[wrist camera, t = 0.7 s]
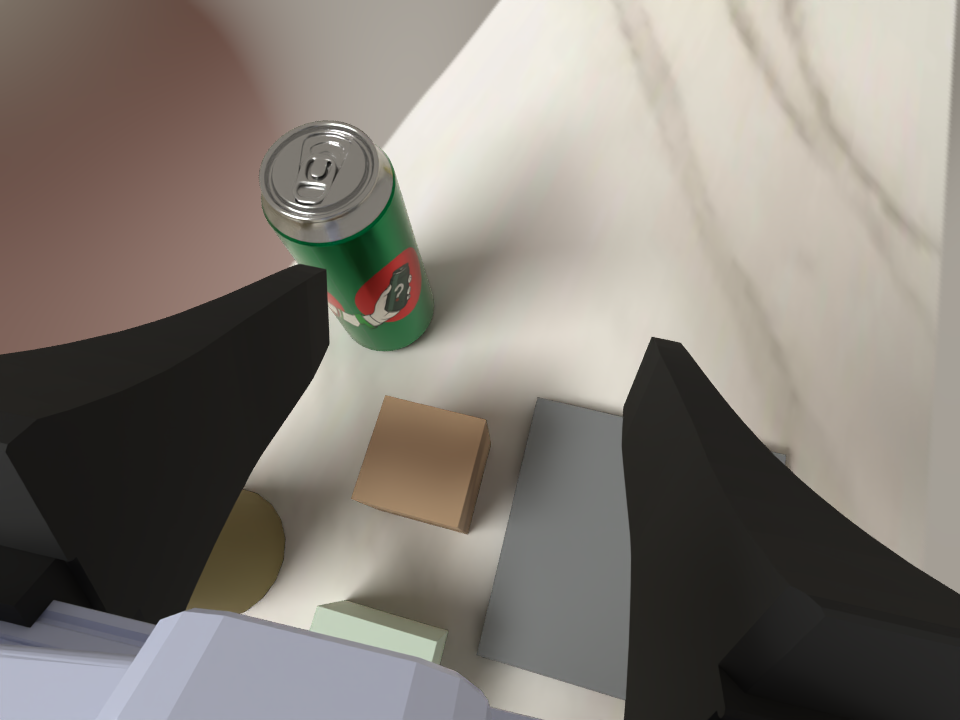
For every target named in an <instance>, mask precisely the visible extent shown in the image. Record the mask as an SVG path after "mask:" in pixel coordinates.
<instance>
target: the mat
mask: <svg viewBox="0 0 960 720" xmlns="http://www.w3.org/2000/svg"><path fill="white" fill-rule="evenodd" d="M622 423H623V417H621V416H616V415H612V414H608V413H604V412H599V411H595V410H591V409H586V408H582V407H578V406H573V405H569V404H565V403H561V402H556V401H552V400H548V399H543V398H539V397H537V402H536V406H535V410H534V414H533V419H532V423H531V427H530V431H529V436H528V440H527V444H526V448H525V453H524V457H523V461H522V465H521V469H520V474H519V478H518V482H517V486H516V491H515V495H514V499H513V503H512V508H511V512H510V516H509V520H508V524H507V529H506V533H505V537H504V541H503V546H502V550H501V554H500V558H499V563H498V567H497V571H496V575H495V579H494V584H493V588H492V592H491V596H490V601H489V605H488V609H487V613H486V618H485V622H484V626H483V630H482V634H481V639H480V643H479V647H478V651H477V655H478V656H481V657H485V658H488V659H491V660H494V661H498V662H501V663H504V664H508V665H511V666H514V667H517V668H521V669H524V670H527V671H530V672H534V673H537V674H540V675H544V676H547V677H550V678H553V679H557V680H560V681H563V682H566V683H570V684H573V685H576V686H580V687H583V688H586V689H589V690H593V691H596V692H599V693H602V694H606V695H609V696H612V697H616V698H619V699H622V700H625V701H626V684H627V666H628V648H629V621H630V586H631V546H630V530H629V520H628V510H627V500H626V490H625V480H624V469H623V458H622ZM772 453H773V454H774V455H775V456H776V457H777V458H778V459H779V460H780V461H781V462H782V463H783V464H784V465H785V462H786V455H784V454H780V453H775V452H772Z"/></svg>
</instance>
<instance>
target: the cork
mask: <svg viewBox="0 0 960 720" xmlns="http://www.w3.org/2000/svg"><path fill="white" fill-rule="evenodd" d="M284 548H285V536H284V531H283V527H282V522H281V519H280V518H279V516H278V514H277V513H276V511H275V509H274V508H273V506H272V505H271V504H270V503H269V502H268V501H266V500H265V499H264V498H263V497H261V496H260V495H259V494H257V493H254V492H251V491H247V490H244V489H242V491H241V493H240V495H239V497H238V499H237V501H236V503H235V505H234V507H233V509H232V511H231V513H230V515H229V517H228V519H227V521H226V523H225V525H224V527H223V529H222V531H221V533H220V535H219V537H218V539H217V541H216V543H215V545H214V547H213V550H212V552H211V554H210V556H209V558H208V561H207V563H206V565H205V567H204V569H203V572H202V574H201V576H200V578H199V580H198V582H197V585H196V587H195V589H194V591H193V594H192V596H191V598H190V601H189V603H188V605H187V608H186V610H189V609H192V608H200V609H210V610H219V611H229V612H234V613H238V614H240V613H243V612H245V611H247V610H248V609H249V608H250V607H252V606H253V605H254V604H256V603H257V602H258V601H259V600H261V599H262V598H263V597H264V595H265V594H266V593H267V591H268V590H269V589H270V587H271V586H272V584H273V583H274V582H275V580H276V578H277V575H278V573H279V570H280V567H281V565H282V562H283V559H284ZM186 610H185V611H186Z"/></svg>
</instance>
